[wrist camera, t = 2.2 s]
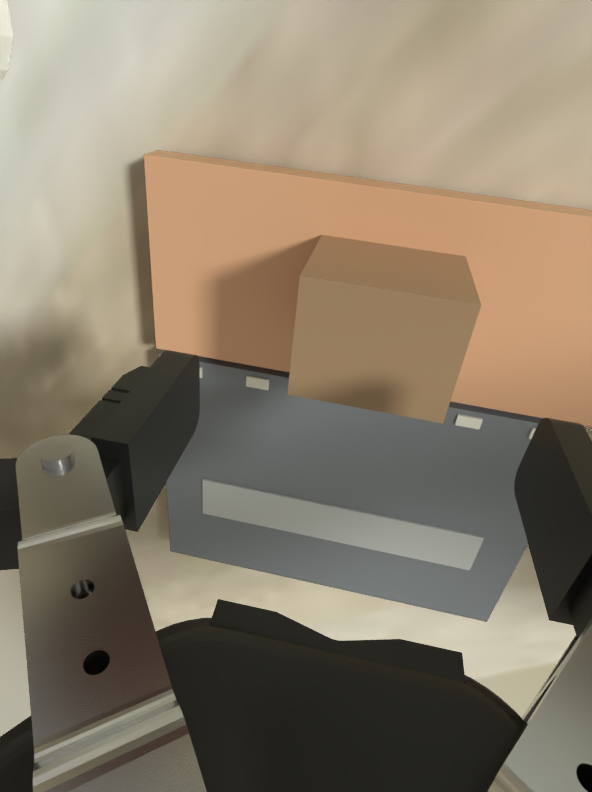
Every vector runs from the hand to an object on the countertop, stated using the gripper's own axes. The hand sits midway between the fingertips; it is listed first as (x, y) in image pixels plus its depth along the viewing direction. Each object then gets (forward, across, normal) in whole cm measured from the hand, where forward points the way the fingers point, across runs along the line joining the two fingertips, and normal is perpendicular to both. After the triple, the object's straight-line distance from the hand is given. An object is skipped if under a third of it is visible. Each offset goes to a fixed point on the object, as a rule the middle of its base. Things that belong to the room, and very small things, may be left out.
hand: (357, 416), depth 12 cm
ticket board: (+9, 0, +11) cm, 14 cm away
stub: (+9, 0, 0) cm, 9 cm away
